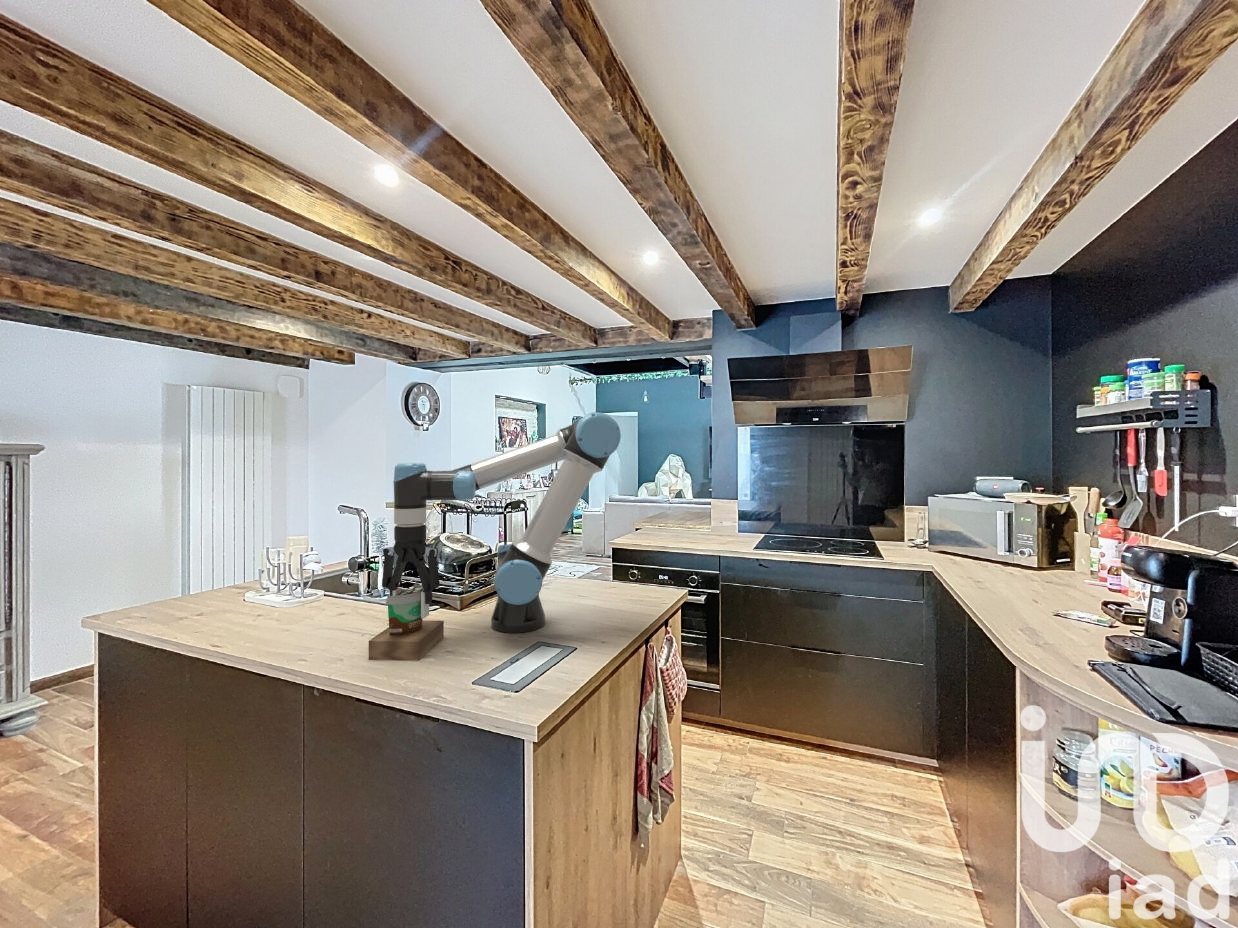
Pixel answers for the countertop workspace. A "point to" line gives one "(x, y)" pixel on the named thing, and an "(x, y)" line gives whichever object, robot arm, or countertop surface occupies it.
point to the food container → (405, 611)
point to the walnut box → (406, 643)
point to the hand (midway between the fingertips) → (411, 615)
